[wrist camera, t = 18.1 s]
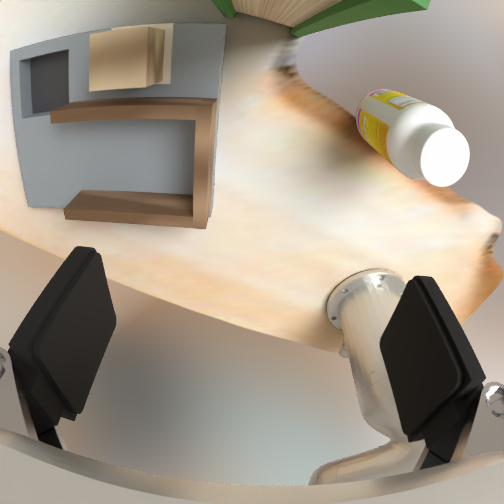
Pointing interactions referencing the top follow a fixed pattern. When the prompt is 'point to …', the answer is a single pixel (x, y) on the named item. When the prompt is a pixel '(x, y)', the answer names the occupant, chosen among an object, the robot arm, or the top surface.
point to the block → (126, 58)
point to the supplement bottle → (413, 137)
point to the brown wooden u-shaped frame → (148, 203)
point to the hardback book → (318, 11)
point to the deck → (109, 131)
